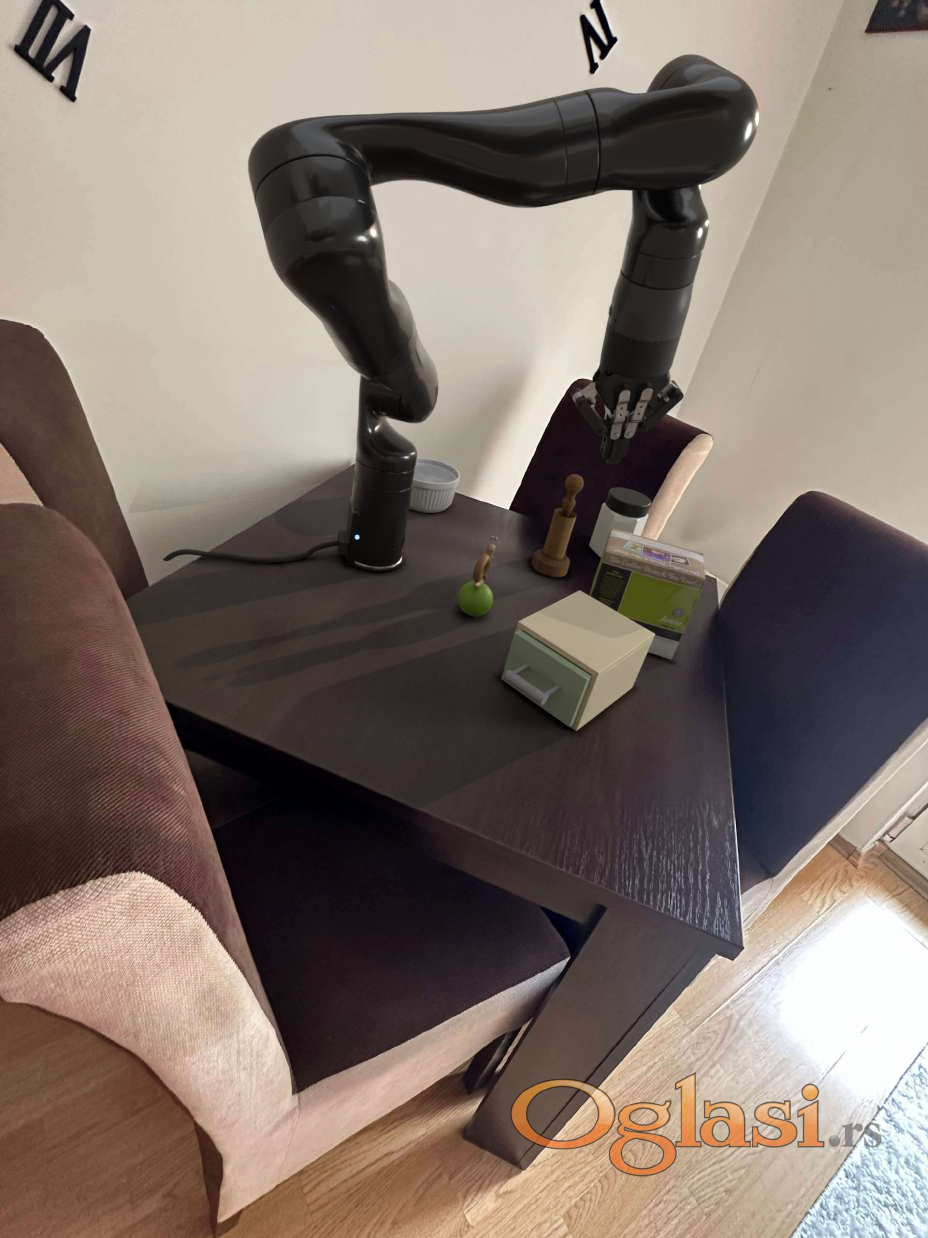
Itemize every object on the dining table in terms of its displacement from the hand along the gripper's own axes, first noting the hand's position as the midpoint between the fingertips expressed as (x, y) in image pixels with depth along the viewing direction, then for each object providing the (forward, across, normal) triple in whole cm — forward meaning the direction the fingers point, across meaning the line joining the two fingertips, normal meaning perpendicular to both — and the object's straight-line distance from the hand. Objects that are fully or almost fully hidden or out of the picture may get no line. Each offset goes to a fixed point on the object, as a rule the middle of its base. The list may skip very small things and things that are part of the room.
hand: (611, 458), depth 79 cm
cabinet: (+27, -5, -14) cm, 31 cm away
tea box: (+34, +9, -2) cm, 35 cm away
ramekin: (+40, -19, +40) cm, 59 cm away
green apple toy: (+30, -16, +2) cm, 34 cm away
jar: (+43, +16, +24) cm, 52 cm away
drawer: (+25, -8, -16) cm, 31 cm away
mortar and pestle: (+37, +1, +16) cm, 41 cm away
